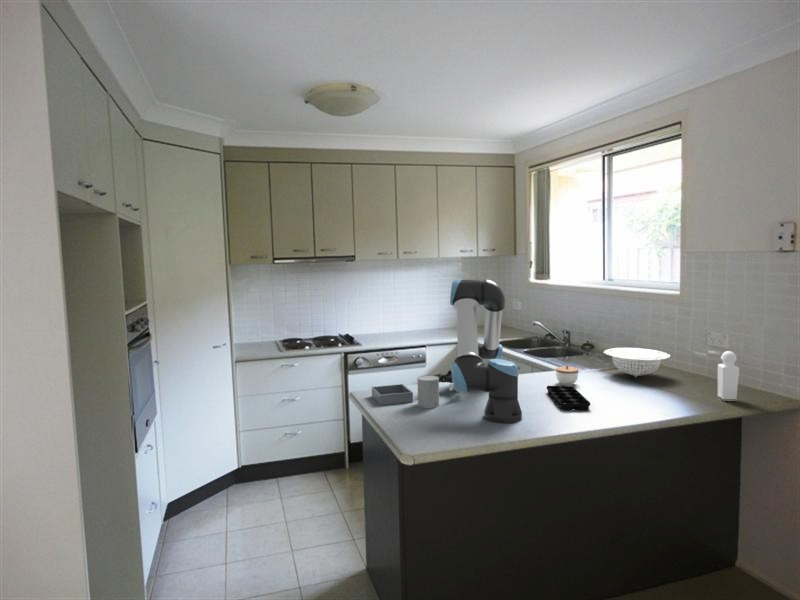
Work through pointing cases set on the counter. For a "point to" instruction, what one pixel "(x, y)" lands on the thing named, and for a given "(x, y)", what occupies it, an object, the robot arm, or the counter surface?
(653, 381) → the counter surface
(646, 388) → the counter surface
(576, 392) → the egg carton
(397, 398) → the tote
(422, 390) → the gray cylinder
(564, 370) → the lidded jar
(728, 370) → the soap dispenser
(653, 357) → the colander
